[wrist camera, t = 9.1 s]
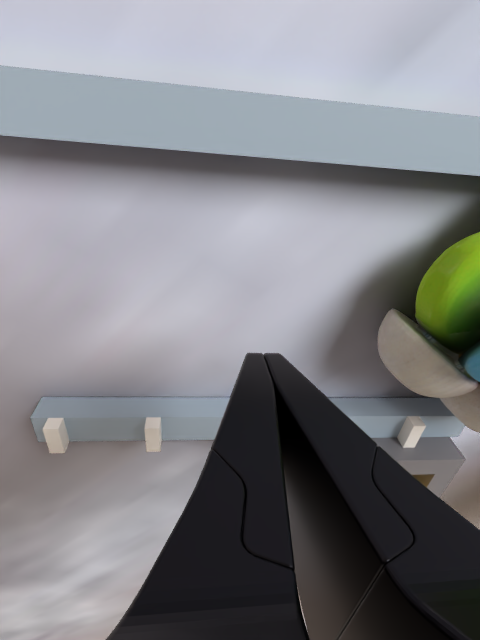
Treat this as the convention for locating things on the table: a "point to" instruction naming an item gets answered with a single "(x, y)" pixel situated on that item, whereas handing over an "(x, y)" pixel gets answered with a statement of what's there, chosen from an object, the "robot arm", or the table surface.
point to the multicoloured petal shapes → (441, 334)
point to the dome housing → (427, 460)
